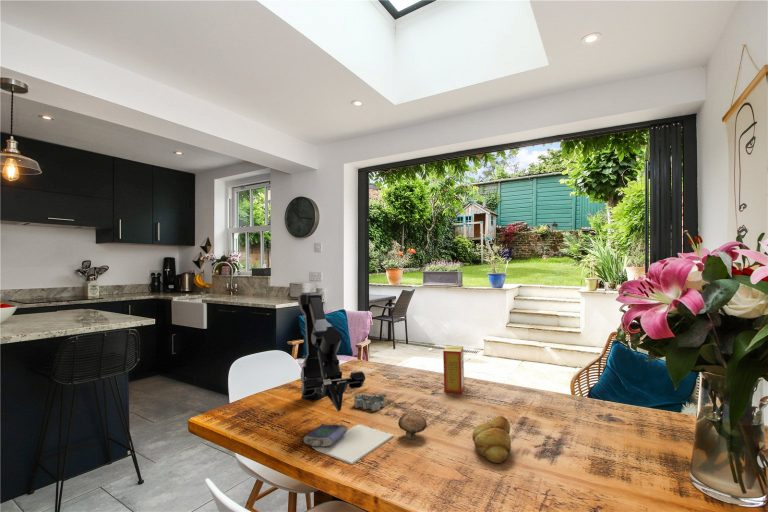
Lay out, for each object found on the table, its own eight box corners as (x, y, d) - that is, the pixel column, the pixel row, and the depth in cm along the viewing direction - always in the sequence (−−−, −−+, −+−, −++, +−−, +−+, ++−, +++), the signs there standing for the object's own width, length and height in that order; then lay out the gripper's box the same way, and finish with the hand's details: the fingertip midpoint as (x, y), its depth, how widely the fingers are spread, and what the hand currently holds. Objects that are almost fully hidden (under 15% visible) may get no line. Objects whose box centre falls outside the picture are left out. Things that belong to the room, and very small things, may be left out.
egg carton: (388, 406, 131) (387, 394, 131) (375, 413, 125) (375, 401, 125) (363, 400, 137) (363, 389, 137) (350, 406, 131) (350, 395, 131)
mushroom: (407, 446, 101) (407, 422, 101) (393, 434, 108) (392, 412, 108) (432, 439, 105) (431, 416, 105) (416, 428, 112) (416, 407, 112)
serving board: (315, 450, 100) (315, 448, 100) (358, 425, 115) (358, 424, 115) (351, 464, 92) (351, 462, 92) (393, 436, 107) (393, 434, 107)
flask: (347, 424, 107) (328, 440, 97) (348, 435, 107) (329, 451, 97) (319, 423, 111) (298, 438, 101) (320, 433, 111) (299, 449, 101)
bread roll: (513, 469, 89) (512, 434, 89) (471, 464, 92) (470, 431, 92) (509, 443, 102) (509, 413, 102) (473, 440, 104) (472, 411, 104)
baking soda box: (461, 393, 141) (460, 350, 142) (444, 392, 143) (443, 349, 144) (464, 385, 150) (463, 345, 151) (447, 384, 152) (446, 344, 153)
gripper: (352, 372, 127) (363, 417, 116) (296, 380, 119) (303, 428, 109) (359, 354, 120) (372, 400, 109) (300, 360, 112) (308, 411, 102)
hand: (339, 410), depth 107 cm, fingers closed
